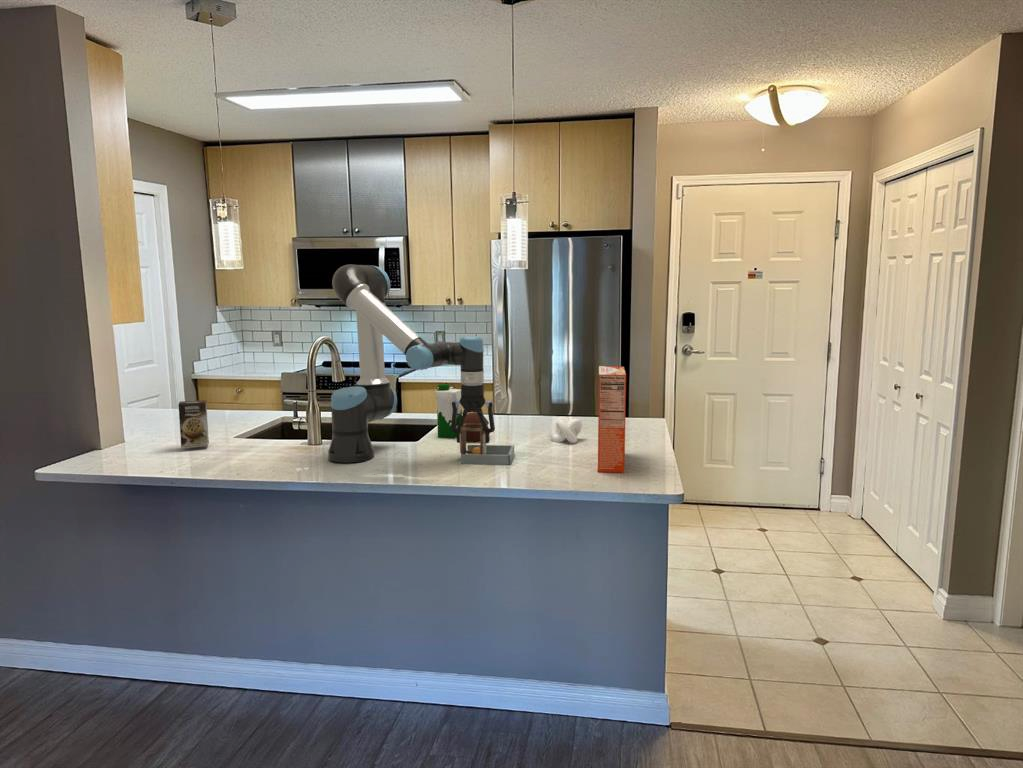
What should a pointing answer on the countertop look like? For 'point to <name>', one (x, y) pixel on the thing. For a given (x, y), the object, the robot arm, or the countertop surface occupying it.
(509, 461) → the u-shaped frame
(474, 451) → the ball
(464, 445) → the open box frame
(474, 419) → the muffin
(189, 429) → the brown tall box
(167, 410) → the countertop surface
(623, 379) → the cereal box
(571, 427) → the white knot sculpture
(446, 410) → the milk carton
